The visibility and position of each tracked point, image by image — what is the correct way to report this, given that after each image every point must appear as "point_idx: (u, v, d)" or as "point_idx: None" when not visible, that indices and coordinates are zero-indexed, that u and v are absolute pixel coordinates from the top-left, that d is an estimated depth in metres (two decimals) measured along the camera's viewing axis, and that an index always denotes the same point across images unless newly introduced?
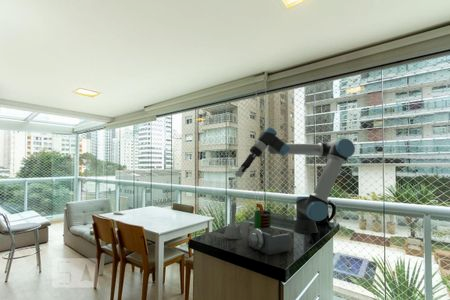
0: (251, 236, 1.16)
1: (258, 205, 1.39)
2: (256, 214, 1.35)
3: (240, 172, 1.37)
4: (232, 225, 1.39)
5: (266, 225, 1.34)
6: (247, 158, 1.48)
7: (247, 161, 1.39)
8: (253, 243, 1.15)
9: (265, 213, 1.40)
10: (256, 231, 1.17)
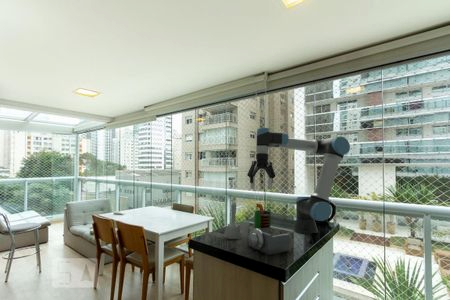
0: (251, 236, 1.16)
1: (258, 205, 1.39)
2: (256, 214, 1.35)
3: (251, 184, 1.37)
4: (232, 225, 1.39)
5: (266, 225, 1.34)
6: None
7: None
8: (253, 243, 1.15)
9: (265, 213, 1.40)
10: (256, 231, 1.17)
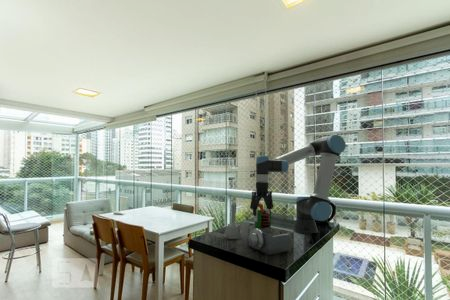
0: (251, 236, 1.16)
1: (259, 205, 1.40)
2: None
3: (254, 217, 1.36)
4: (232, 225, 1.39)
5: (266, 225, 1.34)
6: None
7: None
8: (253, 243, 1.15)
9: (265, 213, 1.40)
10: (256, 231, 1.17)
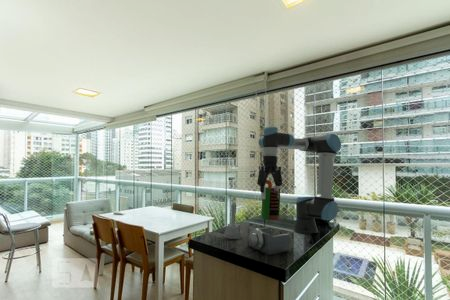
0: (251, 236, 1.16)
1: (266, 181, 1.26)
2: None
3: (262, 194, 1.22)
4: (232, 225, 1.39)
5: (275, 202, 1.20)
6: None
7: None
8: (253, 243, 1.15)
9: None
10: (256, 231, 1.17)
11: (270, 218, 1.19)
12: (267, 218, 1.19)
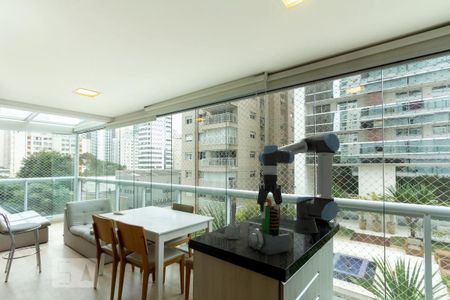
0: (251, 236, 1.16)
1: (266, 200, 1.25)
2: None
3: (261, 213, 1.21)
4: (232, 225, 1.39)
5: (275, 222, 1.19)
6: None
7: None
8: (253, 243, 1.15)
9: (274, 209, 1.26)
10: (256, 231, 1.17)
11: None
12: None
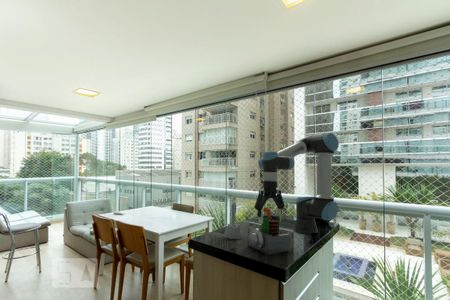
0: (251, 236, 1.16)
1: (265, 209, 1.24)
2: (263, 220, 1.20)
3: (259, 218, 1.20)
4: (232, 225, 1.39)
5: (275, 232, 1.19)
6: None
7: None
8: (253, 243, 1.15)
9: (273, 218, 1.25)
10: (256, 231, 1.17)
11: None
12: None
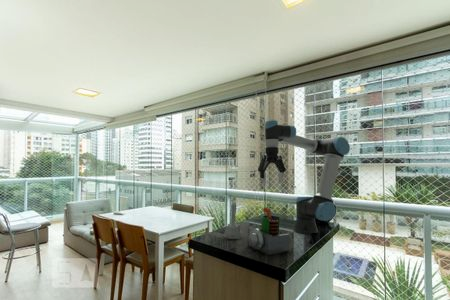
0: (251, 236, 1.16)
1: (265, 209, 1.24)
2: (263, 220, 1.20)
3: (262, 180, 1.31)
4: (232, 225, 1.39)
5: (275, 232, 1.19)
6: None
7: None
8: (253, 243, 1.15)
9: (273, 218, 1.25)
10: (256, 231, 1.17)
11: None
12: None
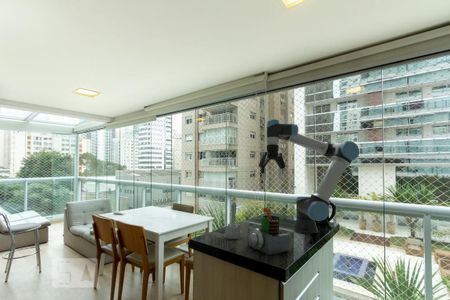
0: (251, 236, 1.16)
1: (265, 209, 1.24)
2: (263, 220, 1.20)
3: (262, 174, 1.41)
4: (232, 225, 1.39)
5: (275, 232, 1.19)
6: None
7: (264, 161, 1.43)
8: (253, 243, 1.15)
9: (273, 218, 1.25)
10: (256, 231, 1.17)
11: None
12: None
